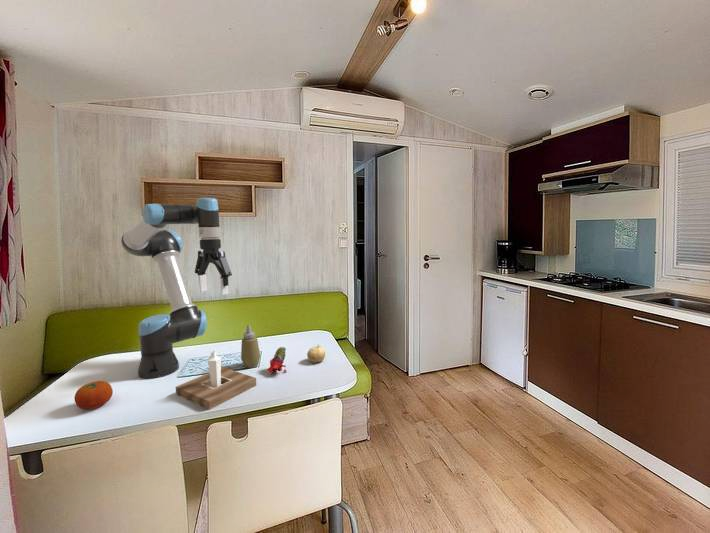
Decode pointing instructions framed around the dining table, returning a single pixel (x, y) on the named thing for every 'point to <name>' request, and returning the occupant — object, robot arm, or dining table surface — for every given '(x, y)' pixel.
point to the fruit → (93, 395)
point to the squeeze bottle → (250, 349)
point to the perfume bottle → (215, 369)
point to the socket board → (212, 397)
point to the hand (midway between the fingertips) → (214, 292)
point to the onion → (316, 354)
